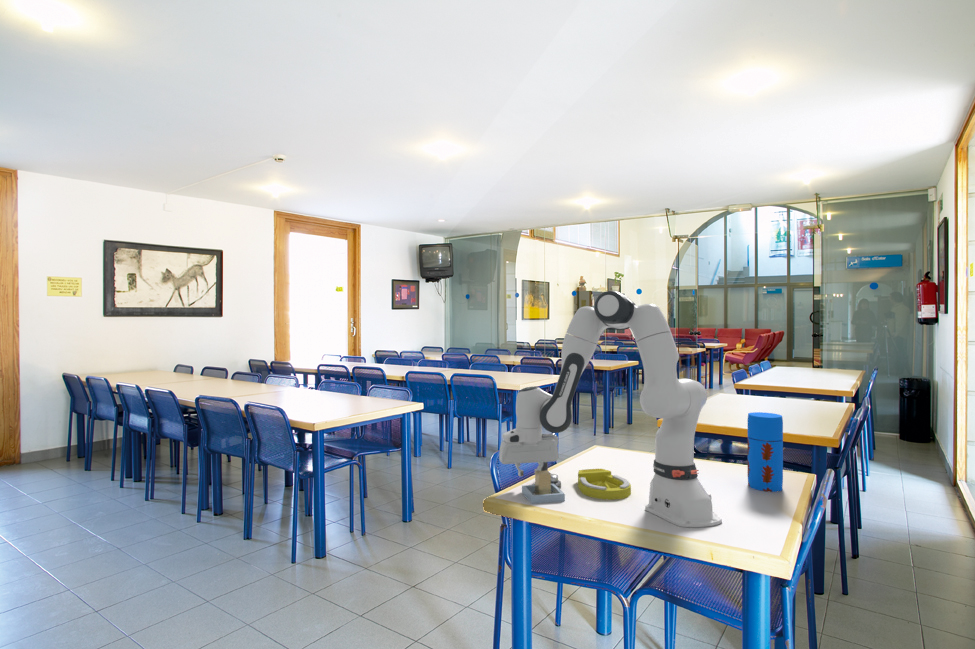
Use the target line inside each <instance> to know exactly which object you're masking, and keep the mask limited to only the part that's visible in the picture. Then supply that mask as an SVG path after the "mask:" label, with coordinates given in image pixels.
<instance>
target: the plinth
mask: <svg viewBox="0 0 975 649" xmlns="http://www.w3.org/2000/svg"><path fill="white" fill-rule="evenodd" d="M551 484H555V485H556V486H557V487H558V488H559V489H560V490H561V489H562V482H561V480H559V479H558V483H551Z"/></svg>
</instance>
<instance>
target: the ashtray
mask: <svg viewBox="0 0 975 649" xmlns="http://www.w3.org/2000/svg"><path fill="white" fill-rule="evenodd" d="M577 487H578V489H579V491H580V492H581V493H582V495H584V496H587V497H590V498H593V499H598V500H607V499H608V500H609V501H610V500H611V501H612V500H613V501H615V500H621V499H626V498H628V497H630V496H631V495H632V488H631V487H632V485H631V483H630V481H629V480H628V479H626V478H624V477H622V476H619V475H617V474H612V471H611V470H608V469H605V468H590V469H589V468H587V469H580V470H578V473H577ZM608 500H607V501H608Z"/></svg>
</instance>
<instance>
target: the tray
mask: <svg viewBox="0 0 975 649" xmlns="http://www.w3.org/2000/svg"><path fill="white" fill-rule="evenodd" d="M521 493H522V495H523V496H524V497H525V498H526V499H527V501H529V503H531V504H543V503H559V502H565V501H566V494H565V492H563V491H562V490H561V489H559V488H558V487H557V486H556V485H555V484H551V494H542V495H535V484H529V485H528V484H524V485H521ZM533 493H534V494H533Z"/></svg>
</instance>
